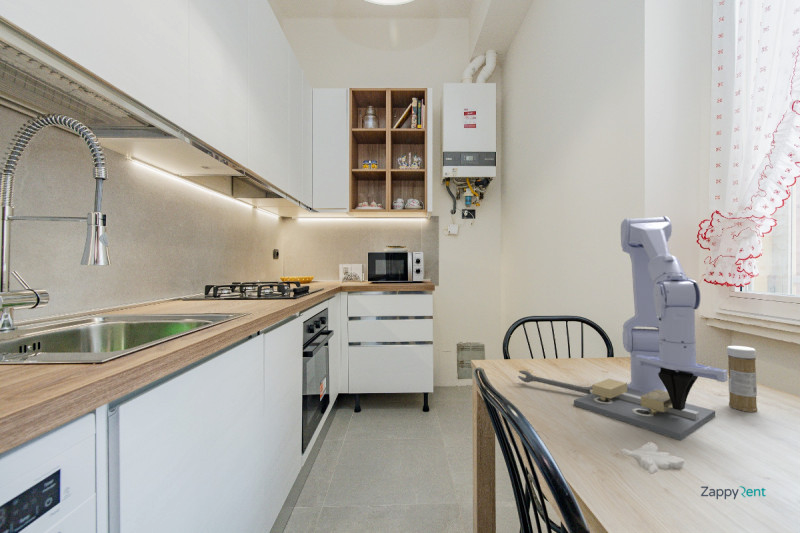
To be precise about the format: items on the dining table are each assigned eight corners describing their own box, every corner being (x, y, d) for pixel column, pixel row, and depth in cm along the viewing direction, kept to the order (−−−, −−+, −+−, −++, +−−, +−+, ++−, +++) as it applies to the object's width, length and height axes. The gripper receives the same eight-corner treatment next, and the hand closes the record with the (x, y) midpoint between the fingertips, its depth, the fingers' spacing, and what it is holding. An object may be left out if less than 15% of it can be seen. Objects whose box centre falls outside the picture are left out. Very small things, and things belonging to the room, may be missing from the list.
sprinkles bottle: (736, 403, 78) (734, 344, 79) (762, 410, 74) (760, 348, 74) (723, 406, 77) (722, 346, 77) (750, 414, 73) (748, 350, 73)
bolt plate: (613, 389, 89) (613, 372, 89) (715, 416, 72) (714, 395, 72) (573, 405, 79) (573, 385, 79) (680, 440, 62) (679, 416, 62)
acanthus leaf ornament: (651, 449, 61) (651, 438, 61) (691, 471, 54) (691, 459, 54) (614, 453, 59) (614, 442, 59) (651, 477, 52) (651, 464, 52)
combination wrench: (601, 385, 82) (517, 367, 95) (600, 389, 81) (516, 370, 94) (601, 396, 84) (519, 377, 96) (601, 400, 83) (518, 380, 95)
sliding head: (656, 403, 75) (656, 388, 75) (679, 409, 72) (678, 394, 72) (641, 411, 71) (640, 396, 71) (663, 418, 68) (663, 402, 68)
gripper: (627, 337, 73) (629, 401, 73) (717, 350, 61) (719, 427, 61) (642, 333, 77) (644, 394, 77) (730, 344, 65) (732, 417, 65)
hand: (678, 408), depth 69 cm, fingers closed
